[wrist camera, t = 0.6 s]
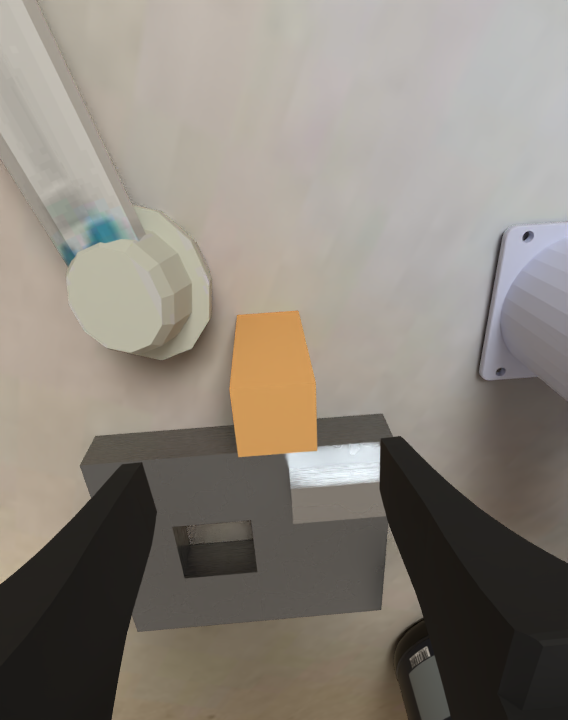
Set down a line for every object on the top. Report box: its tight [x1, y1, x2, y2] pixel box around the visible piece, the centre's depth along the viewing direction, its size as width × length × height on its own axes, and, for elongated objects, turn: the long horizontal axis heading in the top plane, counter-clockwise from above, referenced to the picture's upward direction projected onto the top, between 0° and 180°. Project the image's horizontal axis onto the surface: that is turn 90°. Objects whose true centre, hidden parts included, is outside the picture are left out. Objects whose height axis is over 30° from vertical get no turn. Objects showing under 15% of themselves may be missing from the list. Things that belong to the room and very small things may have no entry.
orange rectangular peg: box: [229, 311, 317, 457], centre depth 19 cm, size 3×3×7 cm
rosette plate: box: [80, 414, 393, 632], centre depth 26 cm, size 16×14×4 cm
